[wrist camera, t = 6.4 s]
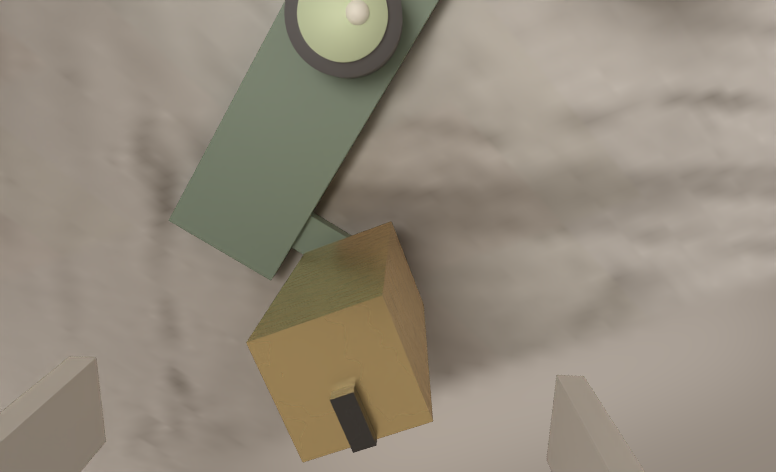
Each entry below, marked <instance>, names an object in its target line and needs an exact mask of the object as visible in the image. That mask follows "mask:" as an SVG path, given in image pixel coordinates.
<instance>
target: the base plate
mask: <svg viewBox="0 0 776 472" xmlns="http://www.w3.org/2000/svg"><path fill="white" fill-rule="evenodd" d="M438 2H439V0H285V2H284V4H283V6H282V8H281V10H280V11H279V13H278V15H277V17H276V19H275V21H274V23H273V25H272V27H271V28H270V30H269V32H268V34H267V36H266V38H265V40H264V42H263V44H262V45H261V47H260V49H259V51H258V53H257V55H256V57H255V59H254V61H253V62H252V64H251V66H250V68H249V70H248V72H247V74H246V76H245V78H244V79H243V81H242V83H241V85H240V87H239V89H238V91H237V93H236V94H235V96H234V98H233V100H232V102H231V104H230V106H229V108H228V110H227V111H226V113H225V115H224V117H223V119H222V121H221V123H220V125H219V127H218V128H217V130H216V132H215V134H214V136H213V138H212V140H211V142H210V144H209V145H208V147H207V149H206V151H205V153H204V155H203V157H202V159H201V161H200V162H199V164H198V166H197V168H196V170H195V172H194V174H193V176H192V177H191V179H190V181H189V183H188V185H187V187H186V189H185V191H184V193H183V194H182V196H181V198H180V200H179V202H178V204H177V206H176V208H175V210H174V211H173V213H172V215H171V217H170V219H169V221H170V222H172V223H174V224H175V225H177V226H179V227H180V228H182V229H184V230H185V231H187V232H189V233H191V234H192V235H194V236H196V237H197V238H199V239H201V240H203V241H204V242H206V243H208V244H209V245H211V246H213V247H215V248H216V249H218V250H220V251H221V252H223V253H225V254H226V255H228V256H230V257H232V258H233V259H235V260H237V261H238V262H240V263H242V264H244V265H245V266H247V267H249V268H250V269H252V270H254V271H256V272H257V273H259V274H261V275H262V276H264V277H266V278H268V279H269V280H272V278H273V277H274V276H275V274H276V273H277V271H278V269H279V268H280V266H281V264H282V263H283V261H284V259H285V258H286V256H287V254H288V253H289V251H290V249H291V248H293V249H295V250H297V251H298V252H300V253H302V254H303V255H304V253H306V252H308V251H311V250H314V249H317V248H319V247H322V246H325V245H328V244H330V243H333V242H336V241H339V240H342V239H344V238H347V237H350V236H351V235H349V234H348V233H346V232H344V231H343V230H341V229H340V228H338V227H336V226H335V225H333V224H331V223H330V222H328V221H326V220H325V219H323V218H321V217H320V216H318V215H316V214H315V213H313V211H314V209H315V208H316V206H317V204H318V203H319V201H320V199H321V197H322V196H323V194H324V192H325V191H326V189H327V187H328V186H329V184H330V182H331V181H332V179H333V177H334V176H335V174H336V172H337V171H338V169H339V167H340V166H341V164H342V162H343V161H344V159H345V157H346V156H347V154H348V152H349V151H350V149H351V147H352V146H353V144H354V142H355V141H356V139H357V137H358V136H359V134H360V132H361V131H362V129H363V127H364V126H365V124H366V122H367V121H368V119H369V117H370V116H371V114H372V112H373V111H374V109H375V107H376V106H377V104H378V102H379V101H380V99H381V97H382V96H383V94H384V92H385V90H386V89H387V87H388V85H389V84H390V82H391V80H392V79H393V77H394V75H395V74H396V72H397V70H398V69H399V67H400V65H401V64H402V62H403V60H404V59H405V57H406V55H407V54H408V52H409V50H410V49H411V47H412V45H413V44H414V42H415V40H416V39H417V37H418V35H419V34H420V32H421V30H422V29H423V27H424V25H425V24H426V22H427V20H428V19H429V17H430V15H431V14H432V12H433V10H434V9H435V7H436V5H437V4H438Z"/></svg>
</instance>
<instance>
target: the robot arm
mask: <svg viewBox="0 0 776 472" xmlns="http://www.w3.org/2000/svg"><path fill="white" fill-rule="evenodd" d="M105 442H106V438H105V430H104V421H103V412H102V404H101V395H100V386H99V377H98V369H97V360H96V357H71V356H70V357H68V358H67V359H66V360H65V361H63V362H62V363H61V364H60V365H58V366H57V367H56V368H55V369H54V370H52V371H51V372H50V373H49V374H47V375H46V376H45V377H44V378H42V379H41V380H40V381H39V382H37V383H36V384H35V385H34V386H33V387H31V388H30V389H29V390H28V391H26V392H25V393H24V394H23V395H21V396H20V397H19V398H18V399H17V400H15V401H14V402H13V403H12V404H10V405H9V406H8V407H7V408H5V409H4V410H3V411H2V412H0V472H81V471H82V469H83V468H84V467H85V466H86V465H87V463H88V462H89V461H90V460H91V459H92V457H93V456H94V455H95V454H96V453H97V451H98V450H99V449H100V448H101V447H102V445H103V444H104V443H105ZM547 462H548V464H549V467H550V469H551V472H645V471H644V470H643V468H642V467H641V465H640V463H639V462H638V460H637V459H636V457H635V455H634V454H633V453H632V451H631V449H630V448H629V446H628V445H627V443H626V441H625V440H624V438H623V437H622V435H621V434H620V432H619V430H618V429H617V427H616V426H615V424H614V423H613V421H612V420H611V418H610V416H609V415H608V413H607V412H606V410H605V409H604V407H603V405H602V404H601V402H600V401H599V399H598V398H597V396H596V395H595V393H594V391H593V390H592V388H591V387H590V385H589V383H588V382H587V380H586V379H585V377H584V376H565V375H557V378H556V385H555V393H554V401H553V410H552V418H551V427H550V435H549V443H548V451H547Z"/></svg>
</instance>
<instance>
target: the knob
mask: <svg viewBox="0 0 776 472" xmlns="http://www.w3.org/2000/svg"><path fill="white" fill-rule="evenodd" d="M246 343H247V345H248V348H249V350H250V352H251V354H252V356H253V358H254V360H255V362H256V364H257V367H258V369H259V371H260V373H261V375H262V377H263V379H264V381H265V384H266V386H267V388H268V390H269V392H270V394H271V396H272V398H273V400H274V403H275V405H276V407H277V409H278V411H279V413H280V415H281V417H282V419H283V422H284V424H285V426H286V428H287V430H288V432H289V434H290V436H291V439H292V441H293V443H294V445H295V447H296V449H297V451H298V453H299V455H300V458H301V459H302V462H306V461H309V460H312V459H315V458H318V457H322V456H325V455H328V454H331V453H334V452H338V451H341V450H344V449H347V448H350V447H351V449H352V451H353V453H354V452H357V451H360V450H363V449H367V448H370V447H373V446H376V443H377V439H379V438H382V437H385V436H388V435H391V434H395V433H398V432H401V431H404V430H407V429H410V428H414V427H417V426H420V425H423V424H426V423H429V422H433V416H432V403H431V391H430V378H429V366H428V354H427V341H426V329H425V316H424V304H423V302H422V299H421V297H420V294H419V292H418V289H417V286H416V284H415V281H414V279H413V276H412V273H411V271H410V268H409V266H408V263H407V260H406V258H405V255H404V253H403V250H402V247H401V245H400V242H399V240H398V237H397V235H396V232H395V229H394V227H393V224H392V222H388V223H386V224H383V225H380V226H377V227H375V228H372V229H369V230H366V231H364V232H361V233H358V234H355V235H353V236H350V237H347V238H344V239H342V240H339V241H336V242H333V243H330V244H328V245H325V246H322V247H319V248H317V249H314V250H311V251H308V252H306V253H304V255H303V257H302V258H301V260H300V261H299V263H298V264H297V266H296V267H295V269H294V270H293V272H292V273H291V275H290V276H289V278H288V280H287V281H286V283H285V284H284V286H283V287H282V289H281V290H280V292H279V293H278V295H277V296H276V298H275V299H274V301H273V303H272V304H271V306H270V307H269V309H268V310H267V312H266V313H265V315H264V316H263V318H262V319H261V321H260V323H259V324H258V326H257V327H256V329H255V330H254V332H253V333H252V335H251V336H250V338H249V339H248V341H247V342H246Z"/></svg>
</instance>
